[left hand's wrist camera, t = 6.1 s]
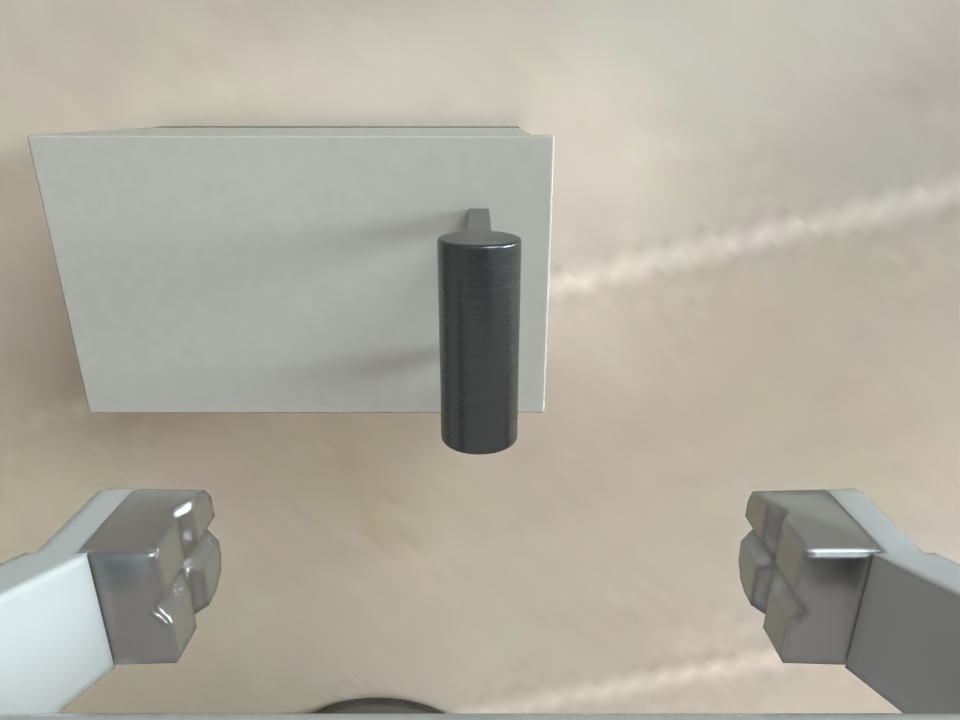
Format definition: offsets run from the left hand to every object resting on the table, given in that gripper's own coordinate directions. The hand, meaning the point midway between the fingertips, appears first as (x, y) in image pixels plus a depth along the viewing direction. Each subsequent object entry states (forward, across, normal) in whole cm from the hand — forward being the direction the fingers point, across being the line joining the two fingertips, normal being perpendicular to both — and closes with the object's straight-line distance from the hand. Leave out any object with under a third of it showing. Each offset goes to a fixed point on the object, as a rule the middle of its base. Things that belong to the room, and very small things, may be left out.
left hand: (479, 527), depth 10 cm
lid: (+16, -6, 0) cm, 17 cm away
